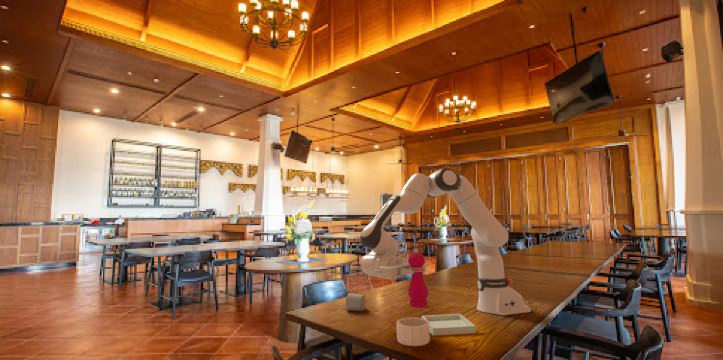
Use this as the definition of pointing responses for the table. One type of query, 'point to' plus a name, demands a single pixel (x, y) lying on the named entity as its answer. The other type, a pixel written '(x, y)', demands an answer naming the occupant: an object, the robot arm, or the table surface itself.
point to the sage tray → (449, 324)
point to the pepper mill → (417, 281)
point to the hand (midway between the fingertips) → (419, 270)
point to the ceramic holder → (413, 331)
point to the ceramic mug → (355, 302)
